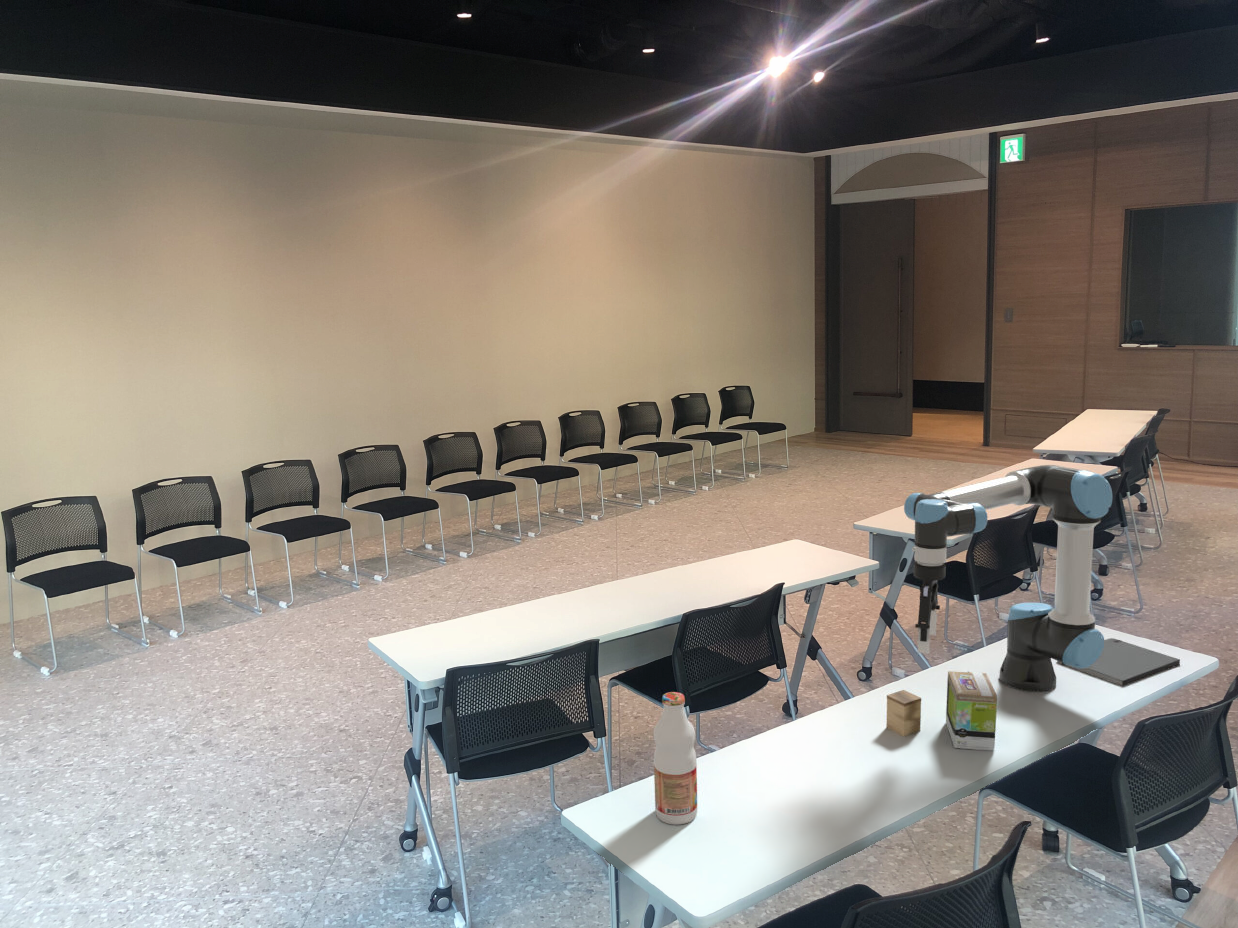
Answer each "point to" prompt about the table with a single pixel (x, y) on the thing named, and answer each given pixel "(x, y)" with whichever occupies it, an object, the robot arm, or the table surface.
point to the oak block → (903, 712)
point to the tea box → (971, 710)
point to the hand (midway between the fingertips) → (927, 643)
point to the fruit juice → (675, 763)
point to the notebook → (1127, 662)
